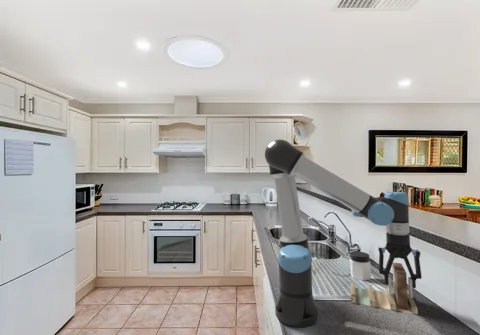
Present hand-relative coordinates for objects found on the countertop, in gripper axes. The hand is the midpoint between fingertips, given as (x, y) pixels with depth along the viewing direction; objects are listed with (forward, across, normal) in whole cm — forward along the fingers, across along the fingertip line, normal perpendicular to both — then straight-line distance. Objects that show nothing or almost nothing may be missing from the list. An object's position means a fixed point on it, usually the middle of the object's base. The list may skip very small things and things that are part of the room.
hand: (400, 294), depth 93 cm
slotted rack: (+4, -6, 0) cm, 8 cm away
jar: (+5, -13, +20) cm, 24 cm away
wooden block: (+3, 0, 0) cm, 3 cm away
